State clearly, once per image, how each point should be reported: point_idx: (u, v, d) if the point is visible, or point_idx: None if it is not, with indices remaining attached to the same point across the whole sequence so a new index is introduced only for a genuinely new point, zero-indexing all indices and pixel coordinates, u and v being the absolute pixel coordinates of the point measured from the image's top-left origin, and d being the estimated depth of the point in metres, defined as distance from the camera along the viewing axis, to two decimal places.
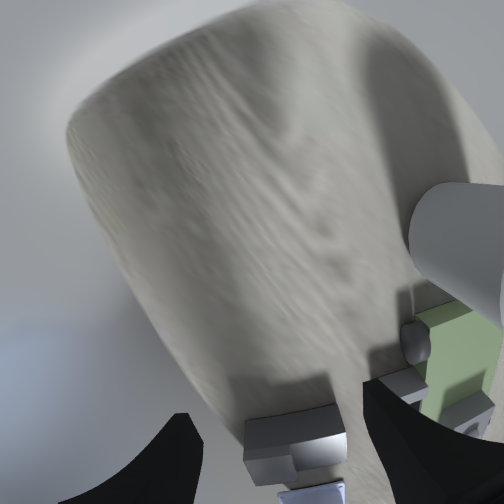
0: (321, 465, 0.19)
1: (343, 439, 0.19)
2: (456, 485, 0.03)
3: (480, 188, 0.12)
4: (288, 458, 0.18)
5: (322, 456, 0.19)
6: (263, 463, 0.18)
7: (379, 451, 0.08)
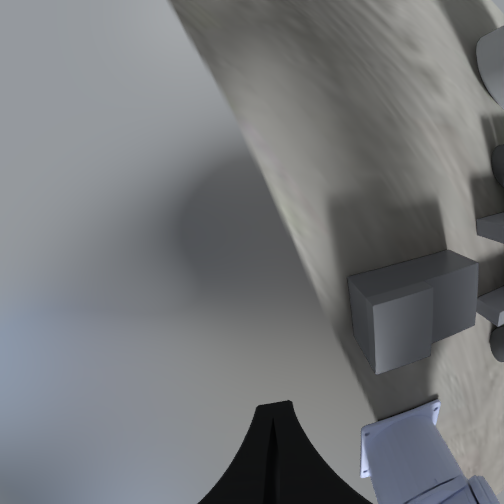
0: (450, 332, 0.15)
1: (475, 277, 0.14)
2: None
3: None
4: (429, 297, 0.13)
5: (453, 311, 0.14)
6: (398, 311, 0.13)
7: None
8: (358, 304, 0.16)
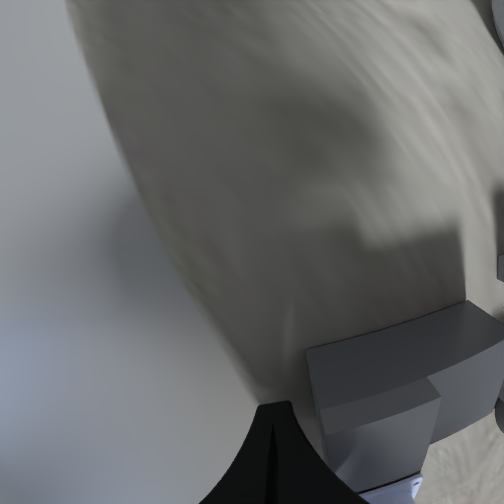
0: (456, 429, 0.08)
1: None
2: None
3: None
4: (433, 409, 0.07)
5: (466, 405, 0.08)
6: (373, 437, 0.07)
7: None
8: (315, 401, 0.09)
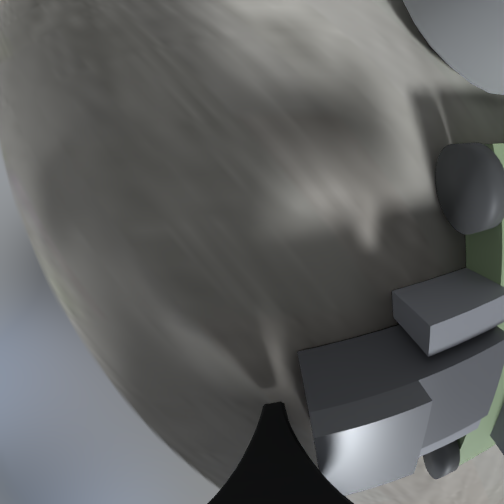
0: (450, 432, 0.08)
1: (502, 357, 0.07)
2: None
3: None
4: (424, 414, 0.07)
5: (460, 408, 0.08)
6: (362, 440, 0.07)
7: None
8: None
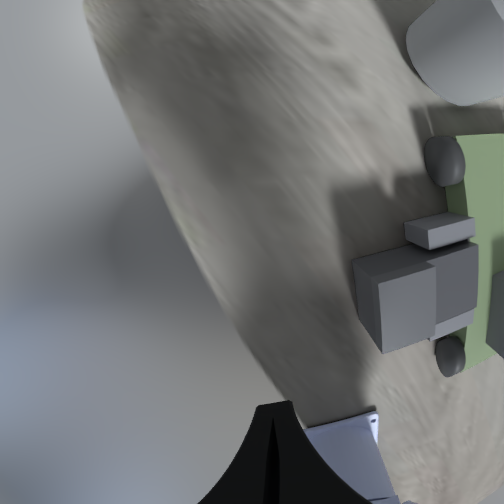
0: (453, 313, 0.15)
1: (476, 258, 0.14)
2: None
3: None
4: (432, 275, 0.14)
5: (456, 292, 0.15)
6: (402, 290, 0.14)
7: None
8: (363, 285, 0.17)
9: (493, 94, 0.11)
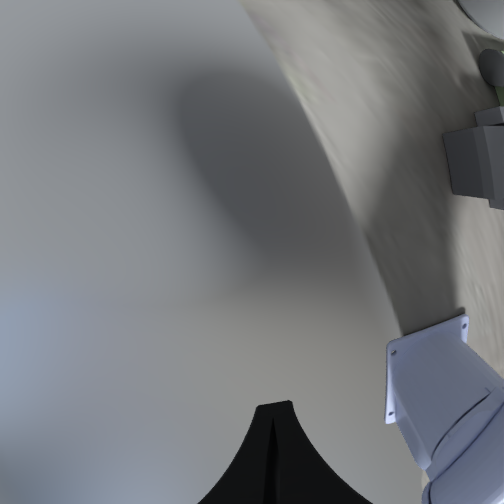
0: None
1: None
2: None
3: None
4: None
5: None
6: (499, 137, 0.12)
7: None
8: (461, 146, 0.14)
9: None
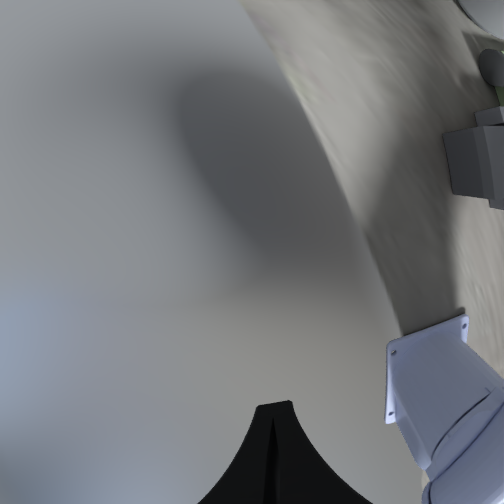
0: None
1: None
2: None
3: None
4: None
5: None
6: (499, 137, 0.12)
7: None
8: (461, 146, 0.14)
9: None
